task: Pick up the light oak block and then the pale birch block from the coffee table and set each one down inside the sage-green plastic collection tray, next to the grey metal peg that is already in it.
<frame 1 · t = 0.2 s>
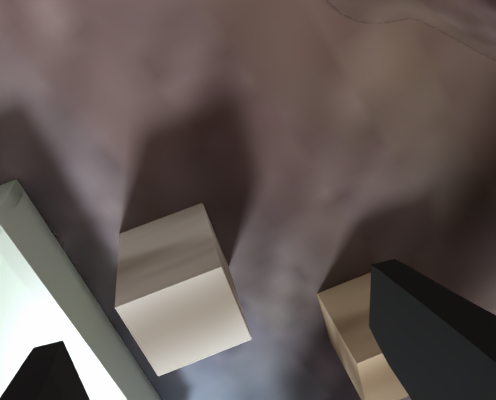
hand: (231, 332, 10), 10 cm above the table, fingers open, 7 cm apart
part birch: (177, 250, 20), on the table
part oak: (354, 304, 25), on the table
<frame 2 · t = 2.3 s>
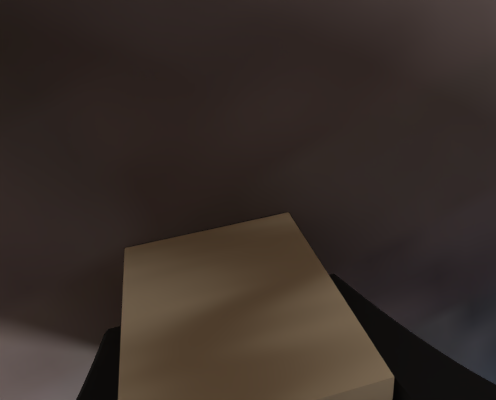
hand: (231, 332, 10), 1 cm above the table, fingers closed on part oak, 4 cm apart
part oak: (220, 293, 11), on the table, touching gripper
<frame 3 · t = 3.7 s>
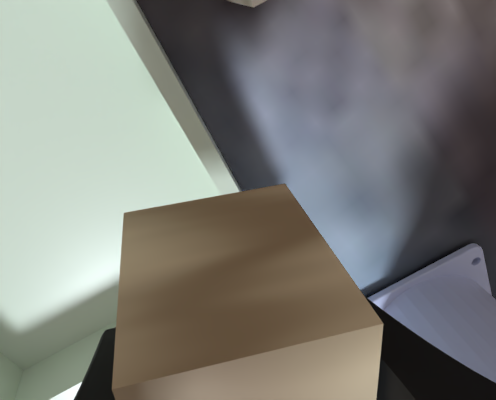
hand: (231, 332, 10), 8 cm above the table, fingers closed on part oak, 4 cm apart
part oak: (216, 263, 11), point 7 cm above the table, touching gripper
tray: (9, 149, 15), on the table
when the fingers open (4 cm above the table, at t = 5.3 s): part oak stays where it is, resting on tray.
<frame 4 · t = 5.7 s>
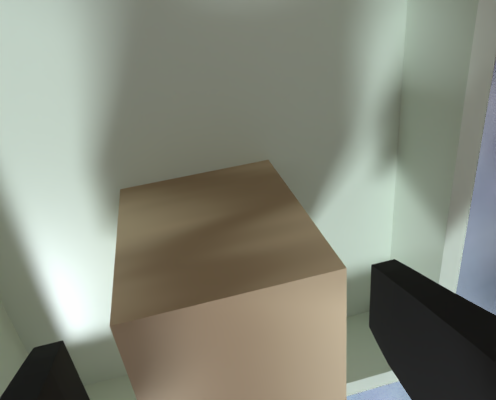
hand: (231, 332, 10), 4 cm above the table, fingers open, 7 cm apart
part oak: (208, 236, 12), point 1 cm above the table, touching tray
tray: (181, 103, 11), on the table
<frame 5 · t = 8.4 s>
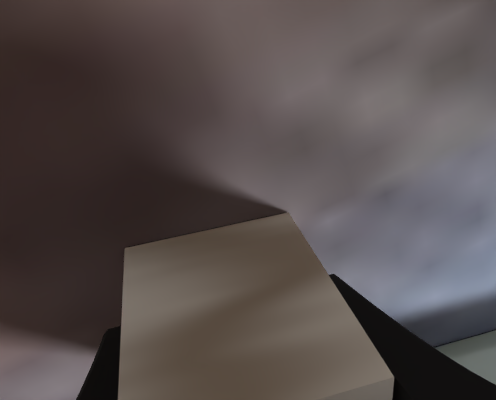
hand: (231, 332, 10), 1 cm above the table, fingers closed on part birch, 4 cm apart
part birch: (220, 293, 11), on the table, touching gripper
when the fingers open (4 cm above the table, at t = 11.0 s): part birch drops 1 cm, resting on tray.
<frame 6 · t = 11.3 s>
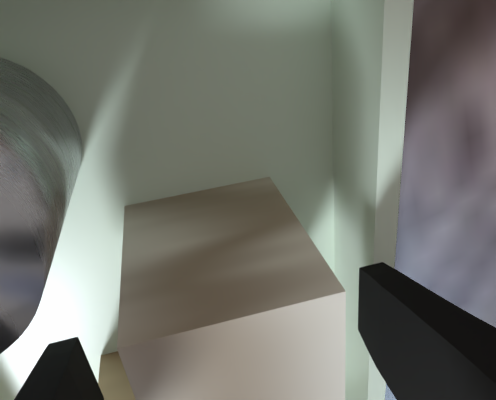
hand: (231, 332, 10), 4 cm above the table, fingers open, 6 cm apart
part birch: (210, 250, 12), point 1 cm above the table, touching tray
part oak: (175, 380, 15), point 1 cm above the table, touching tray
tray: (150, 285, 13), on the table
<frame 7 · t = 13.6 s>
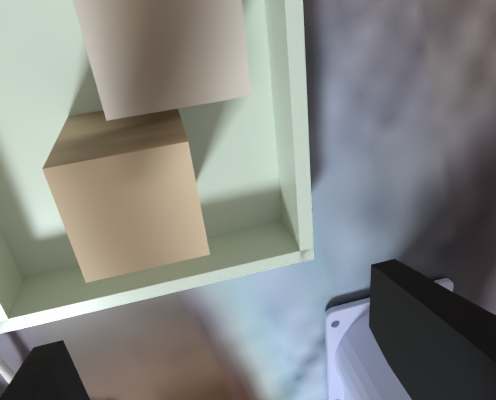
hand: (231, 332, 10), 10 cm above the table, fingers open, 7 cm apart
part birch: (157, 14, 15), point 1 cm above the table, touching tray
part oak: (134, 155, 17), point 1 cm above the table, touching tray
tray: (110, 56, 16), on the table
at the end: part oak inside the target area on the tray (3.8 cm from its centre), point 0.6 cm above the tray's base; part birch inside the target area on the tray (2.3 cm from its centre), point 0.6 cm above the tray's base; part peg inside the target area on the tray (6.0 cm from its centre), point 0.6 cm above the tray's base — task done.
